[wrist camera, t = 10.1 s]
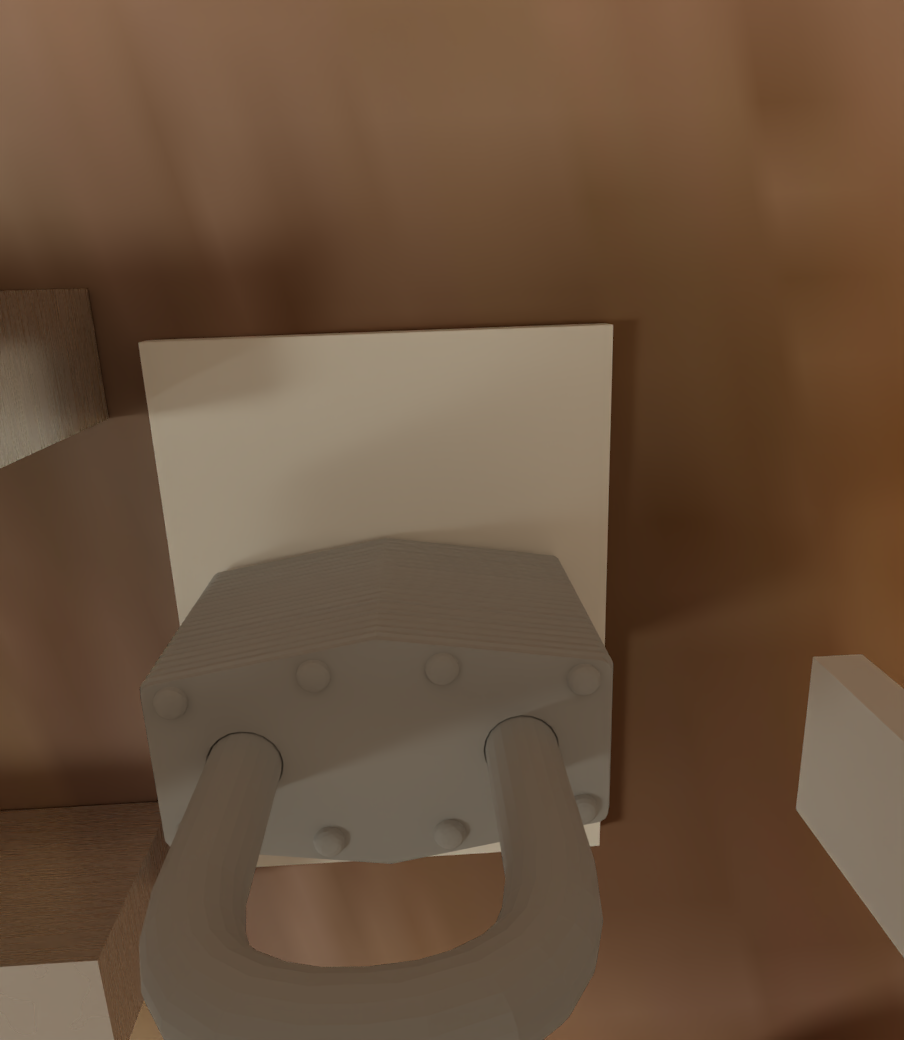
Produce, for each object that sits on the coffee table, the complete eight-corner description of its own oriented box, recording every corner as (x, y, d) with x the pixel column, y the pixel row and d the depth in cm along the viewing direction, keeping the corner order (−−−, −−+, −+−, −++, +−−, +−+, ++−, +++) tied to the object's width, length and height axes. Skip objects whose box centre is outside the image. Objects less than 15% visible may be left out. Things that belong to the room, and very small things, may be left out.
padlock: (558, 525, 16) (769, 877, 7) (557, 698, 17) (735, 1208, 8) (210, 542, 16) (-89, 933, 6) (233, 716, 17) (10, 1267, 8)
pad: (221, 851, 19) (216, 869, 18) (148, 339, 15) (138, 342, 15) (593, 828, 19) (599, 845, 19) (605, 323, 16) (613, 325, 15)
